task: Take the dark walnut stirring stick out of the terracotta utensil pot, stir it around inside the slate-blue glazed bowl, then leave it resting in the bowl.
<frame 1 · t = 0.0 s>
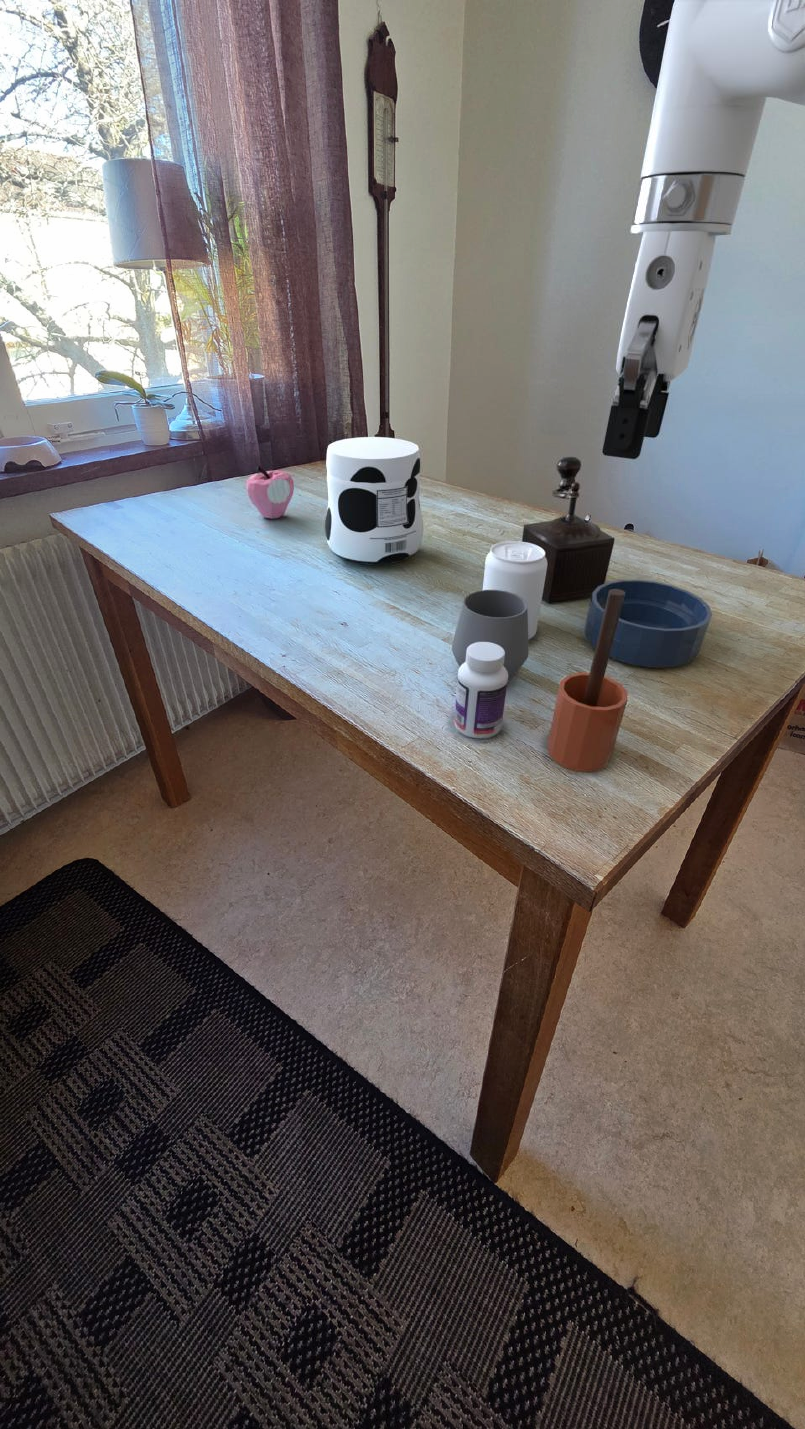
hand: (631, 445, 57), 28 cm above the table, tool pointing down, fingers open, 9 cm apart
apple: (273, 517, 124), on the table
utensil pot: (578, 751, 65), on the table
beverage can: (506, 633, 86), on the table
pill bottle: (477, 726, 68), on the table
stirring stick: (579, 747, 64), point 1 cm above the table, touching utensil pot
bowl: (639, 642, 84), on the table
cup: (486, 676, 77), on the table
manual coffee grinder: (552, 581, 100), on the table
milk container: (374, 554, 109), on the table
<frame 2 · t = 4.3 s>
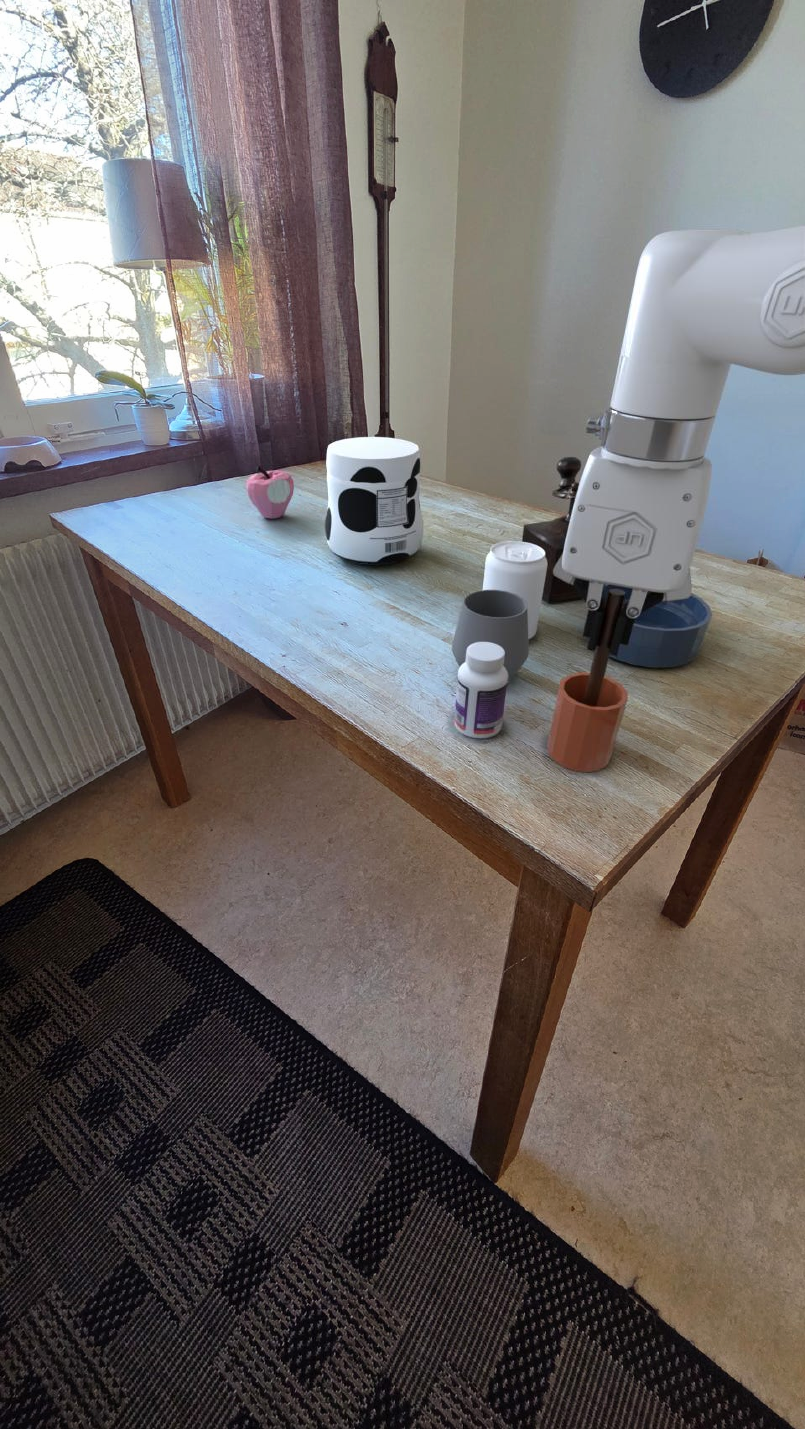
hand: (604, 645, 57), 13 cm above the table, tool pointing down, fingers closed on stirring stick, 1 cm apart
stirring stick: (579, 747, 64), point 1 cm above the table, touching gripper, utensil pot
everything else where it was.
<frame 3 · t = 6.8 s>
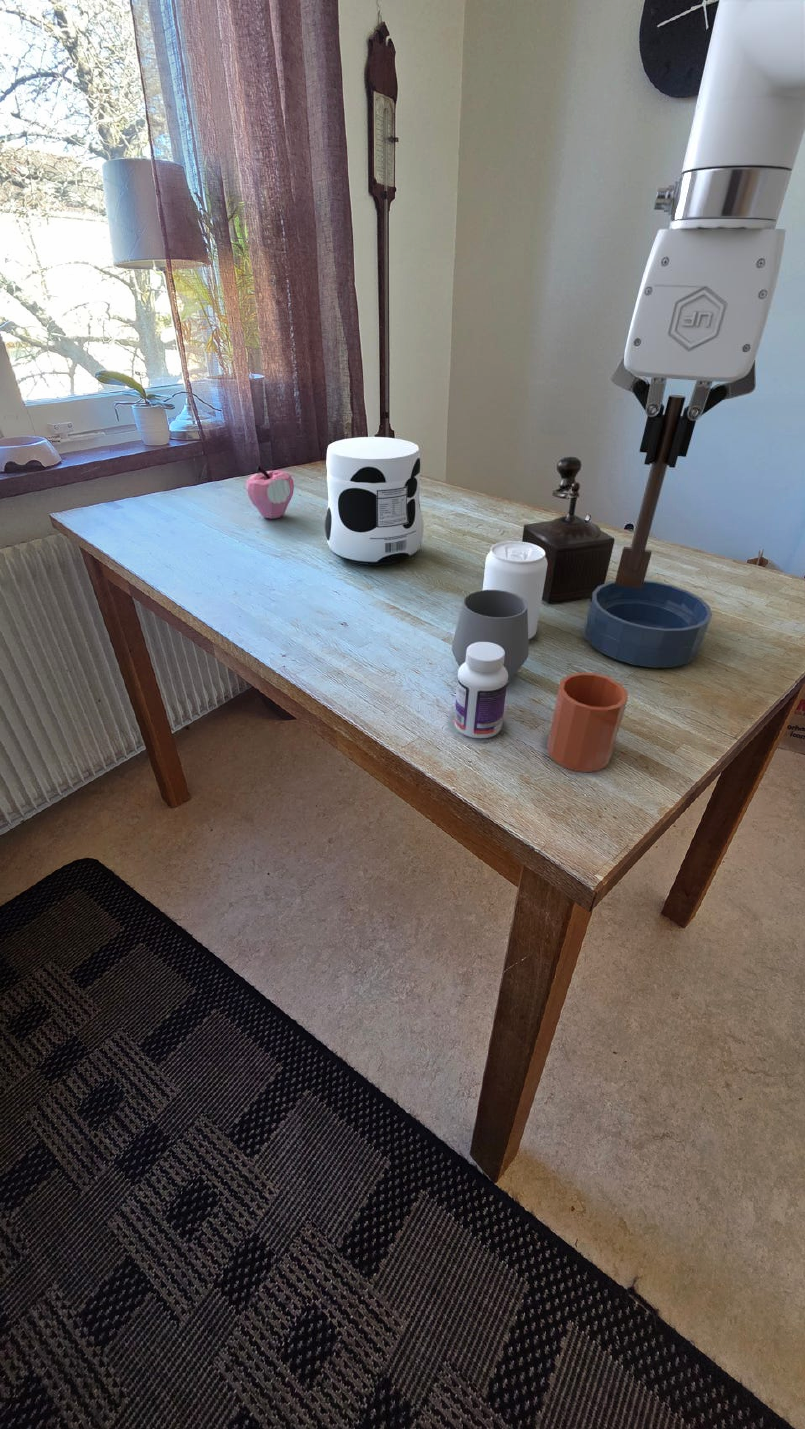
hand: (660, 461, 56), 27 cm above the table, tool pointing down, fingers closed on stirring stick, 1 cm apart
stirring stick: (628, 585, 64), point 15 cm above the table, touching gripper
everything else where it was.
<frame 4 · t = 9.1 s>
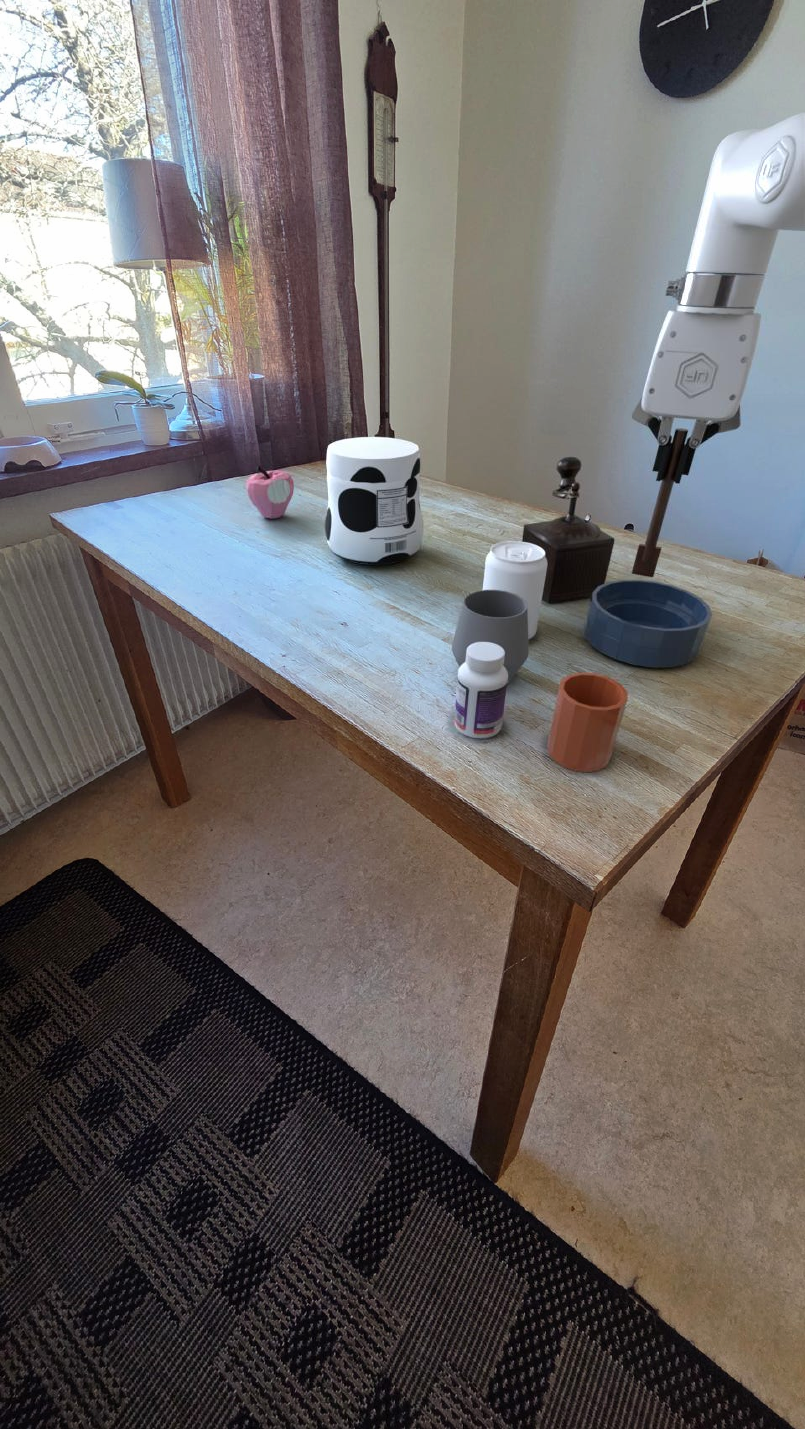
hand: (668, 478, 73), 21 cm above the table, tool pointing down, fingers closed on stirring stick, 1 cm apart
stirring stick: (642, 574, 81), point 9 cm above the table, touching gripper
everything else where it was.
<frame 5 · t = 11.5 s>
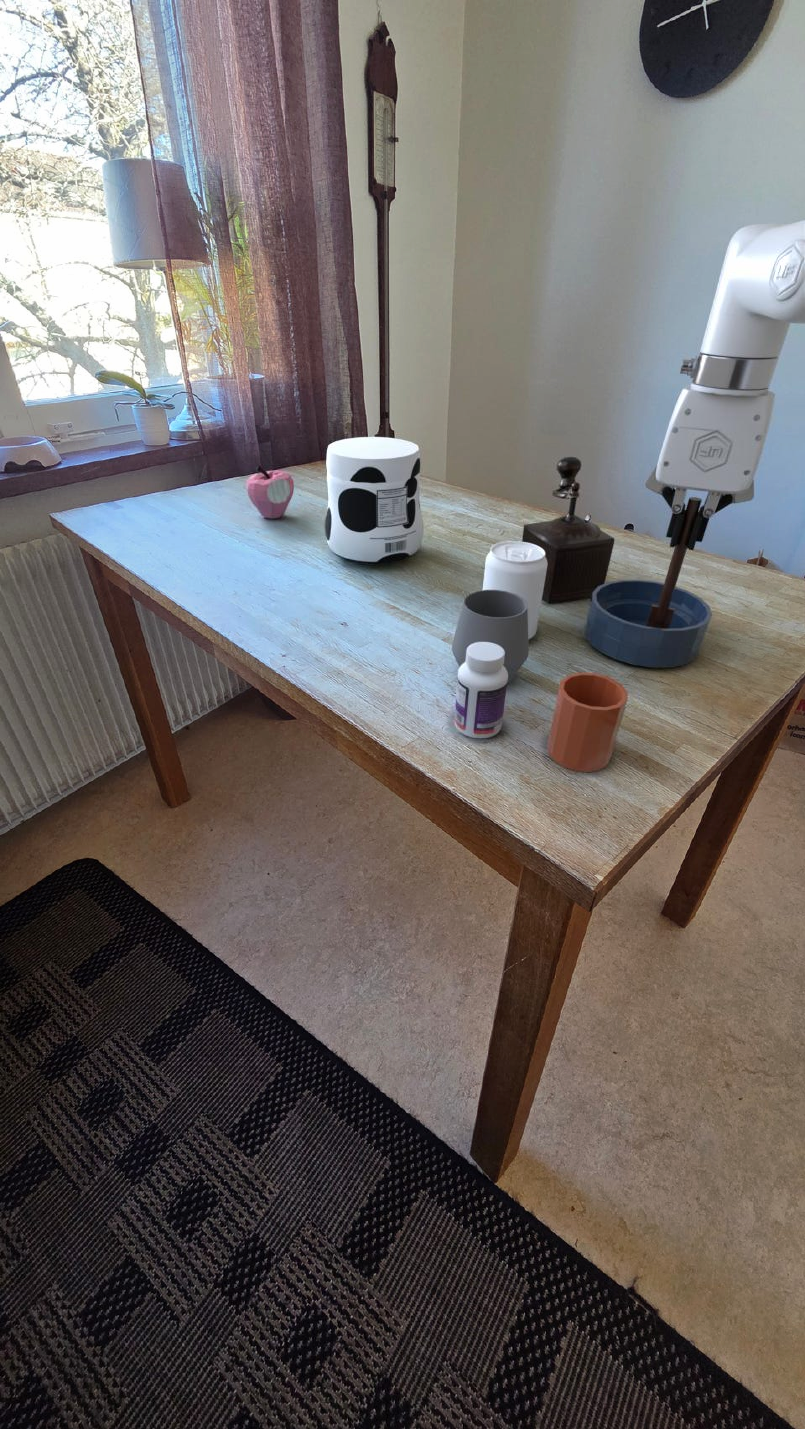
hand: (682, 544, 74), 15 cm above the table, tool pointing down, fingers closed on stirring stick, 1 cm apart
stirring stick: (655, 633, 82), point 2 cm above the table, touching gripper
everything else where it was.
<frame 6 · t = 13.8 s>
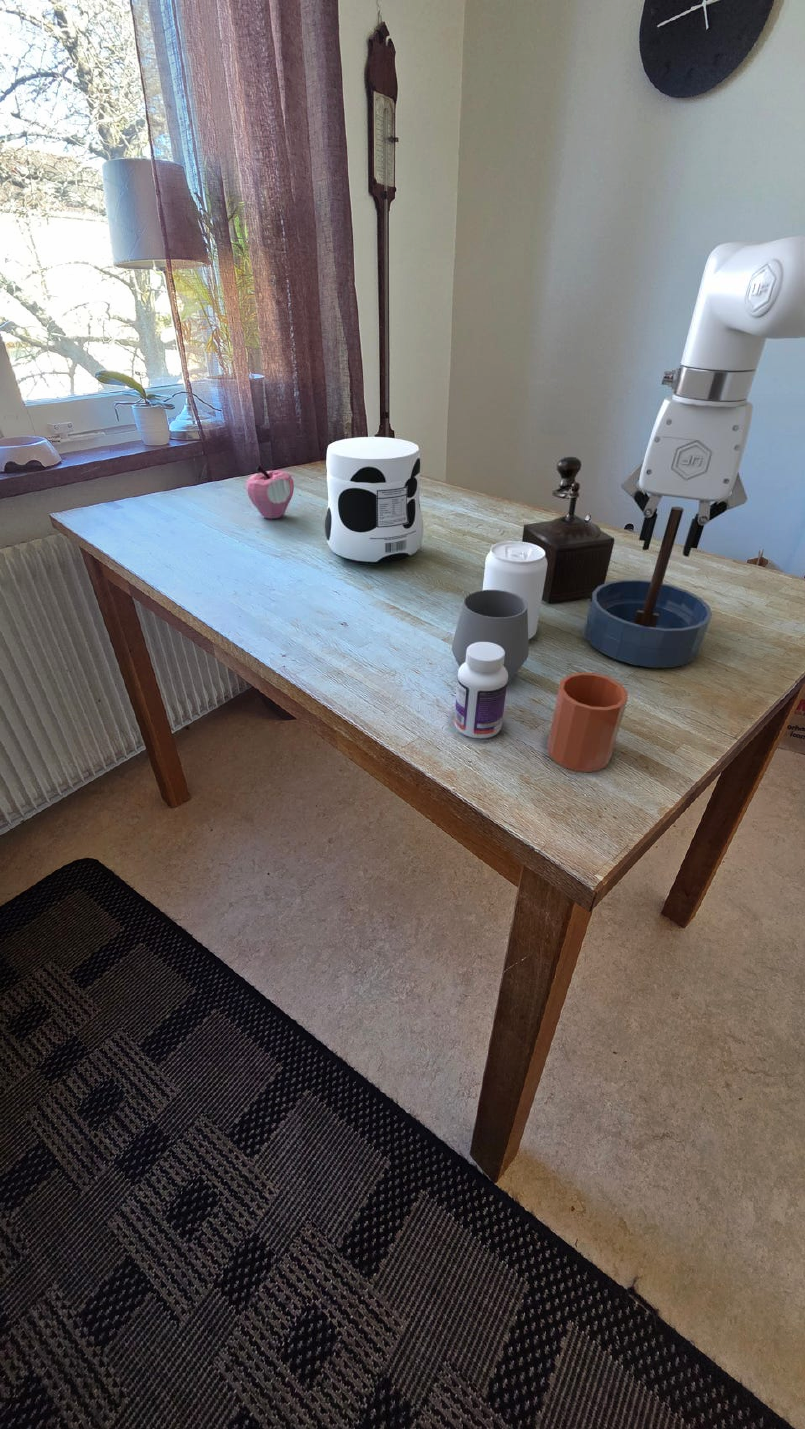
hand: (666, 548, 76), 14 cm above the table, tool pointing down, fingers open, 4 cm apart
stirring stick: (640, 638, 84), point 1 cm above the table, touching bowl
everything else where it was.
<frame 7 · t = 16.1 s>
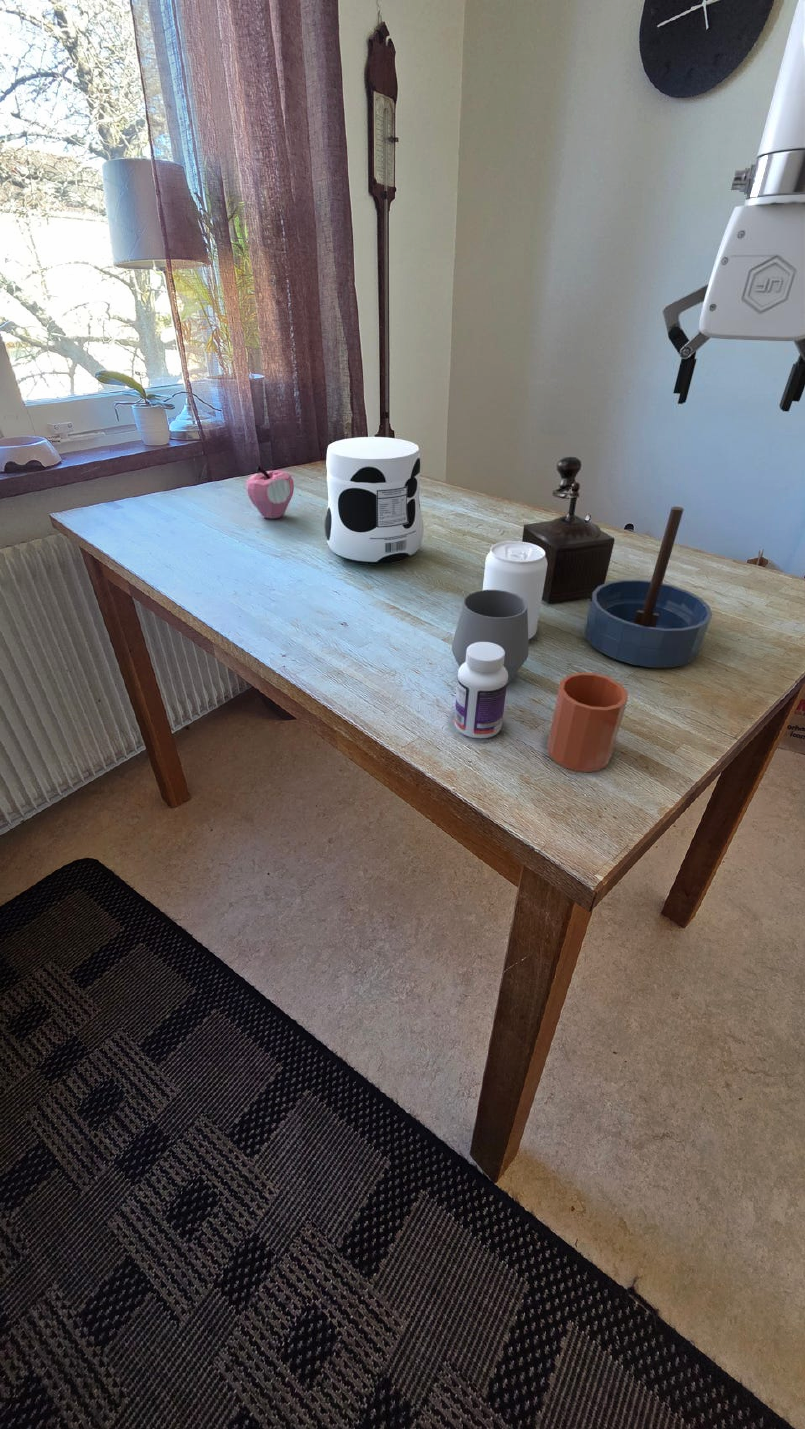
hand: (731, 405, 62), 31 cm above the table, tool pointing down, fingers open, 9 cm apart
nothing on the table moved.
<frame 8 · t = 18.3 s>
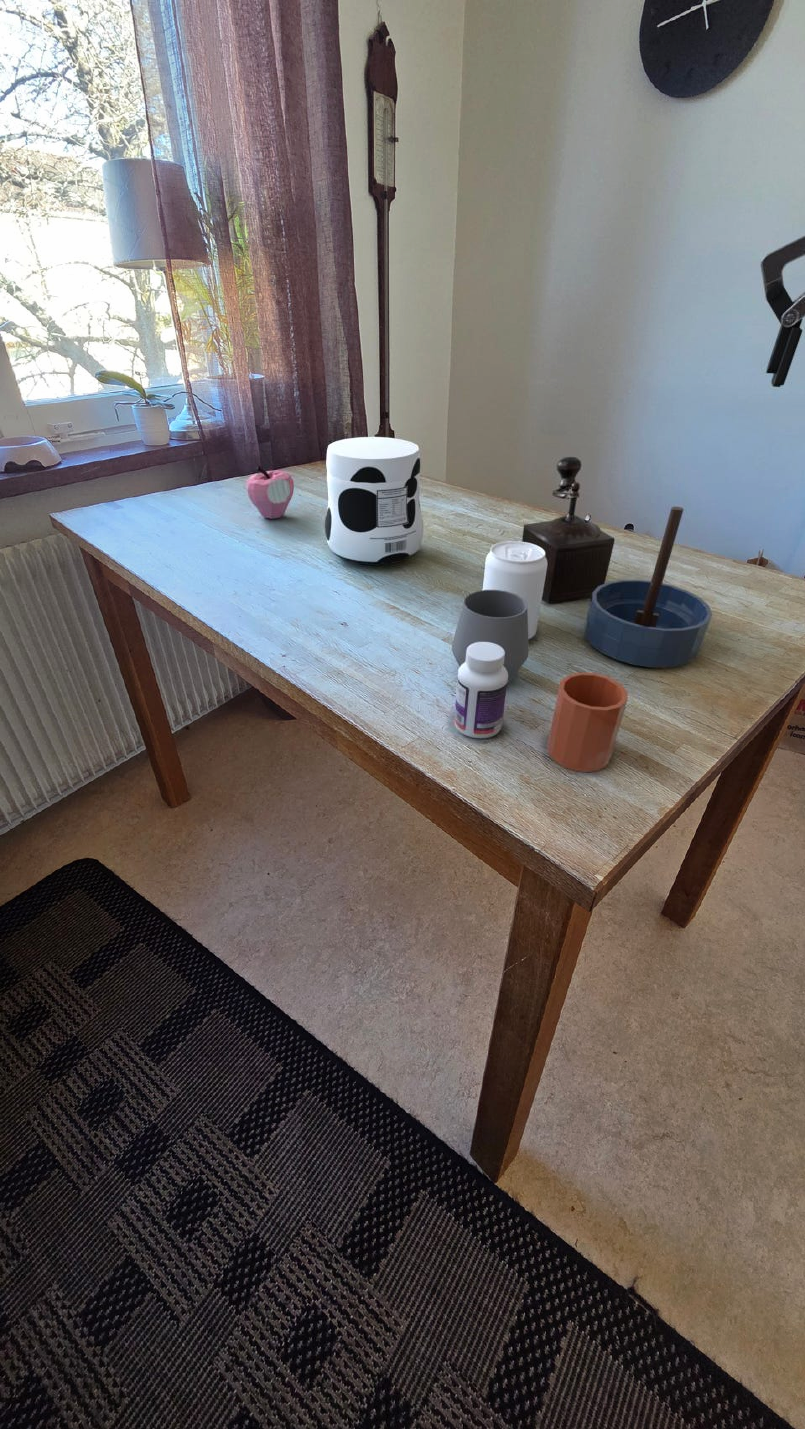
nothing on the table moved.
at the end: stirring stick inside the target area in the bowl (0.0 cm from its centre), point 0.6 cm above the bowl's base; the gripper is holding nothing; stirring stick moved 27.8 cm from its start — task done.
